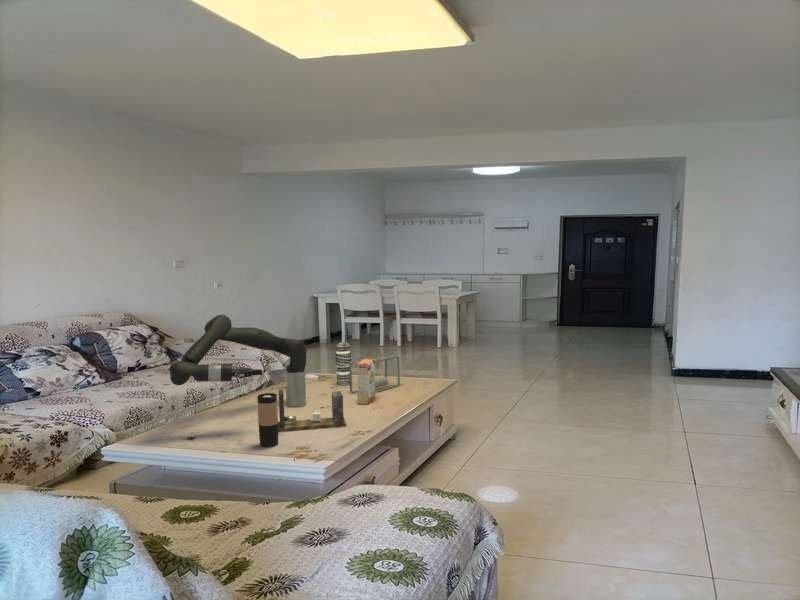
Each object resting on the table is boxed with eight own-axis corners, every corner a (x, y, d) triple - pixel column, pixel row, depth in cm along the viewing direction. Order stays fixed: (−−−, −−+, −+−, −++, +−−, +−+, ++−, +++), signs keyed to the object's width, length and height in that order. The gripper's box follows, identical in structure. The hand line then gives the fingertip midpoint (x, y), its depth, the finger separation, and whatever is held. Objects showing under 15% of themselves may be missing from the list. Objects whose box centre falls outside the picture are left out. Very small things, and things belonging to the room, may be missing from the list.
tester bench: (271, 432, 259) (270, 401, 258) (271, 425, 269) (270, 395, 268) (346, 426, 265) (345, 396, 264) (343, 419, 276) (342, 390, 275)
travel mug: (260, 442, 246) (258, 393, 244) (279, 441, 246) (277, 392, 245) (258, 448, 238) (255, 397, 237) (277, 447, 239) (275, 397, 237)
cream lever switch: (313, 421, 266) (313, 414, 266) (312, 416, 273) (312, 410, 273) (320, 420, 267) (320, 413, 266) (319, 416, 273) (319, 409, 273)
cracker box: (369, 404, 302) (368, 363, 301) (357, 404, 303) (356, 363, 302) (376, 398, 316) (374, 358, 314) (364, 398, 317) (363, 358, 316)
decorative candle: (345, 388, 341) (344, 344, 339) (332, 387, 346) (331, 343, 344) (355, 385, 348) (354, 342, 346) (342, 383, 353) (341, 341, 351)
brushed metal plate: (280, 426, 260) (278, 394, 259) (279, 421, 269) (278, 390, 268) (296, 425, 262) (295, 393, 260) (295, 419, 270) (294, 389, 269)
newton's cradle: (363, 396, 320) (362, 363, 319) (349, 394, 327) (348, 361, 326) (400, 386, 343) (399, 355, 342) (386, 384, 350) (385, 353, 349)
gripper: (219, 366, 250) (262, 366, 255) (220, 361, 263) (261, 361, 268) (219, 384, 251) (262, 384, 255) (220, 378, 264) (261, 377, 268)
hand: (261, 372), depth 261 cm, fingers closed
